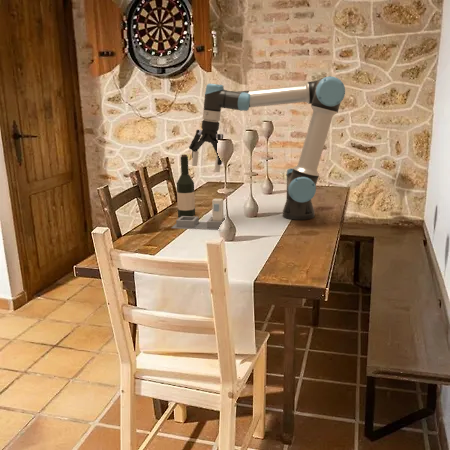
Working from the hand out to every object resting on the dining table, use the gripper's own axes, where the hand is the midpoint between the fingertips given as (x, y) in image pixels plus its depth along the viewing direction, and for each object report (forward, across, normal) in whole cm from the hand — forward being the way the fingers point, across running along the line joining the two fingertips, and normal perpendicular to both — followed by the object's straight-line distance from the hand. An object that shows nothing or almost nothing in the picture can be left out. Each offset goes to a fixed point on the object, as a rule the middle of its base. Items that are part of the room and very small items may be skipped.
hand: (205, 168), depth 221 cm
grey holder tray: (+25, +6, -5) cm, 26 cm away
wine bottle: (+27, -13, +6) cm, 30 cm away
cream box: (+23, +13, -2) cm, 26 cm away
